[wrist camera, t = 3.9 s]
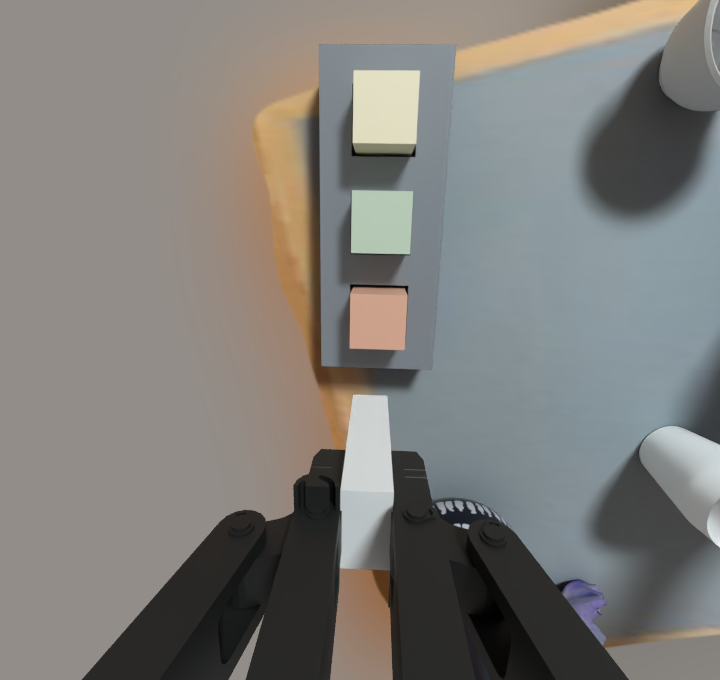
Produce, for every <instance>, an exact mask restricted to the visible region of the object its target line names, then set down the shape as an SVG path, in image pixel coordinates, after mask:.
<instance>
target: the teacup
mask: <svg viewBox="0 0 720 680" xmlns="http://www.w3.org/2000/svg"><path fill="white" fill-rule="evenodd" d="M659 83H660V86H661V89H662V91H663V92H664V93H665V95H666V96H668V97H669V98H671V99H672V100H673V101H674V102H675V103H677V104H678V105H680V106H682V107H684V108H687V109H690V110H694V111H717V110H720V0H699V1H698V2H697V3H696V4H695V5H694V6H693V7H692V9H691V10H690V11H689V12H688V13H687V14H686V15H685V16H684V17H683V18H682V19H681V21H680V22H679V23H678V25H677V26H676V27H675V29H674V30H673V32H672V33H671V35H670V37H669V39H668V41H667V44H666V46H665V49H664V52H663V56H662V62H661V64H660V68H659Z"/></svg>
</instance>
